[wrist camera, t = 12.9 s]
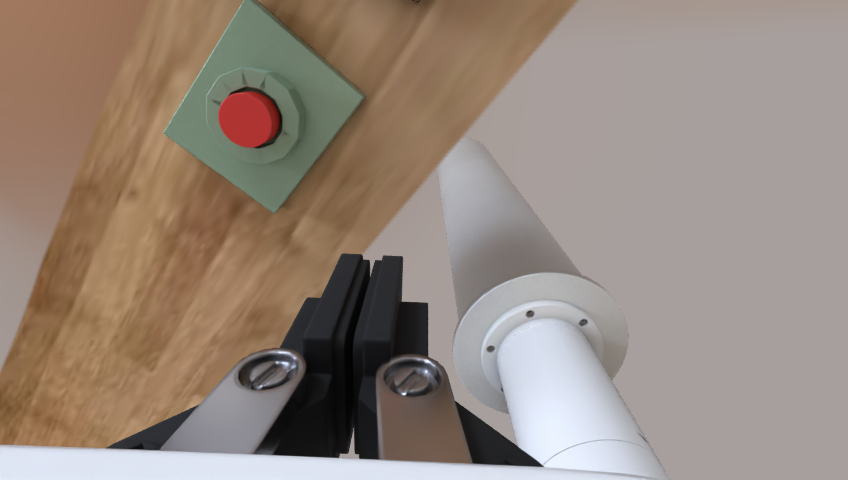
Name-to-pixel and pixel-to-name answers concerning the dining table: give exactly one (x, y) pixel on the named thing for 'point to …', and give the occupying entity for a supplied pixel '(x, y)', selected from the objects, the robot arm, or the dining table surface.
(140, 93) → the dining table surface
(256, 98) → the button
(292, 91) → the button box
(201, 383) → the dining table surface
